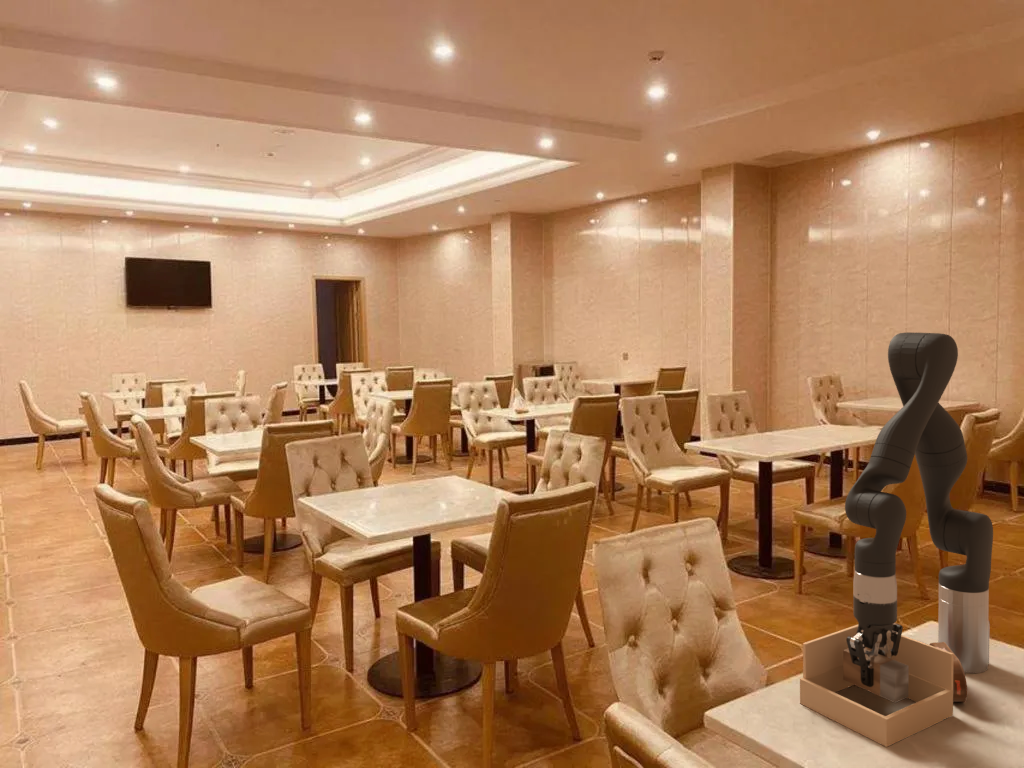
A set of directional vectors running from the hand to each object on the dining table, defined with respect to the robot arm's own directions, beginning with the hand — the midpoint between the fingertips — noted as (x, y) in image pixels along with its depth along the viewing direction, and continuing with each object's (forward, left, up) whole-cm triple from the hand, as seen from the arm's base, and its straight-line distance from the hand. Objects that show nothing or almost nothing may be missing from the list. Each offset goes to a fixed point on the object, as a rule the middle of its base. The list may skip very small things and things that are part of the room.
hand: (875, 681), depth 149 cm
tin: (-18, +3, -6) cm, 19 cm away
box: (0, 0, -1) cm, 1 cm away
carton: (0, 0, -5) cm, 5 cm away
